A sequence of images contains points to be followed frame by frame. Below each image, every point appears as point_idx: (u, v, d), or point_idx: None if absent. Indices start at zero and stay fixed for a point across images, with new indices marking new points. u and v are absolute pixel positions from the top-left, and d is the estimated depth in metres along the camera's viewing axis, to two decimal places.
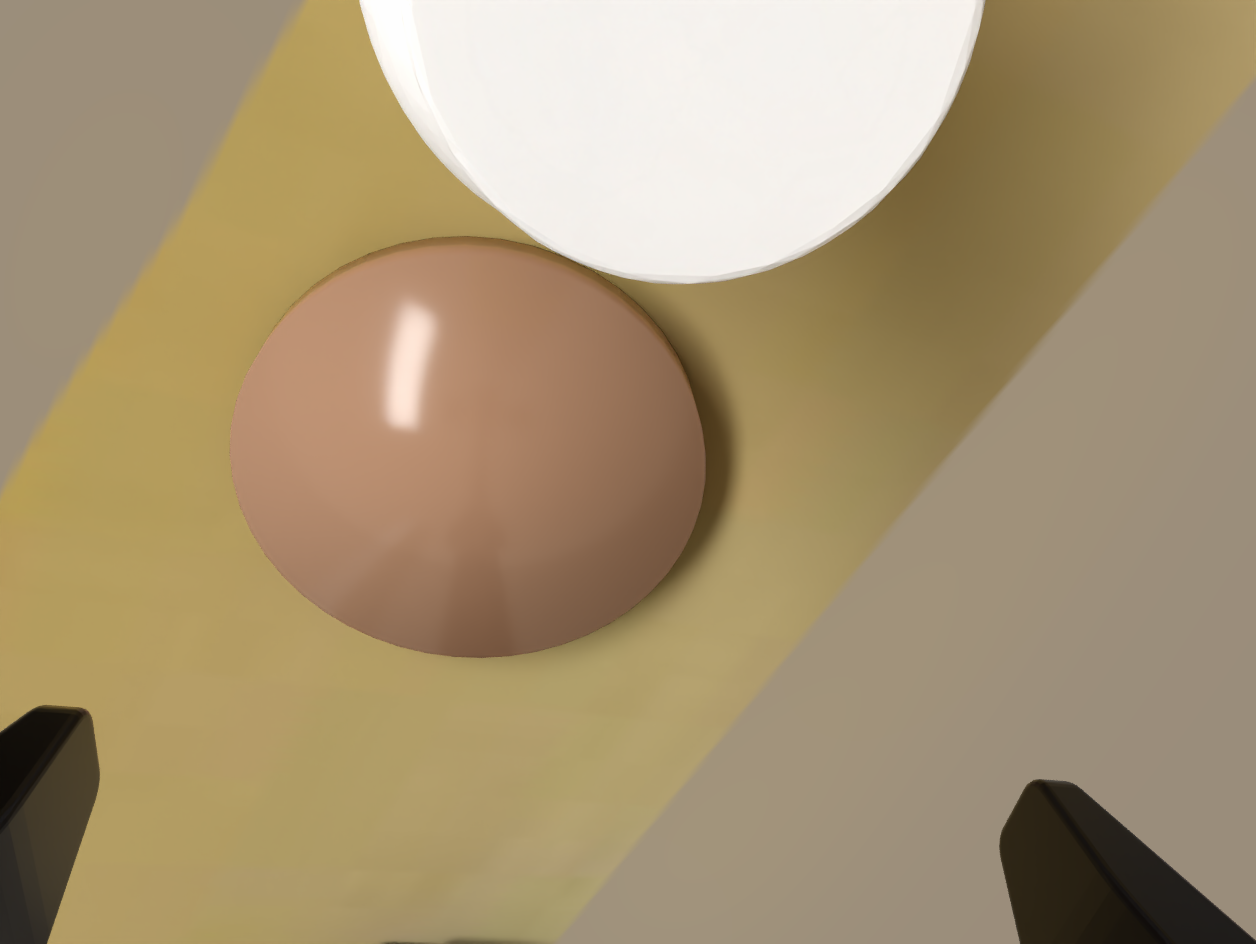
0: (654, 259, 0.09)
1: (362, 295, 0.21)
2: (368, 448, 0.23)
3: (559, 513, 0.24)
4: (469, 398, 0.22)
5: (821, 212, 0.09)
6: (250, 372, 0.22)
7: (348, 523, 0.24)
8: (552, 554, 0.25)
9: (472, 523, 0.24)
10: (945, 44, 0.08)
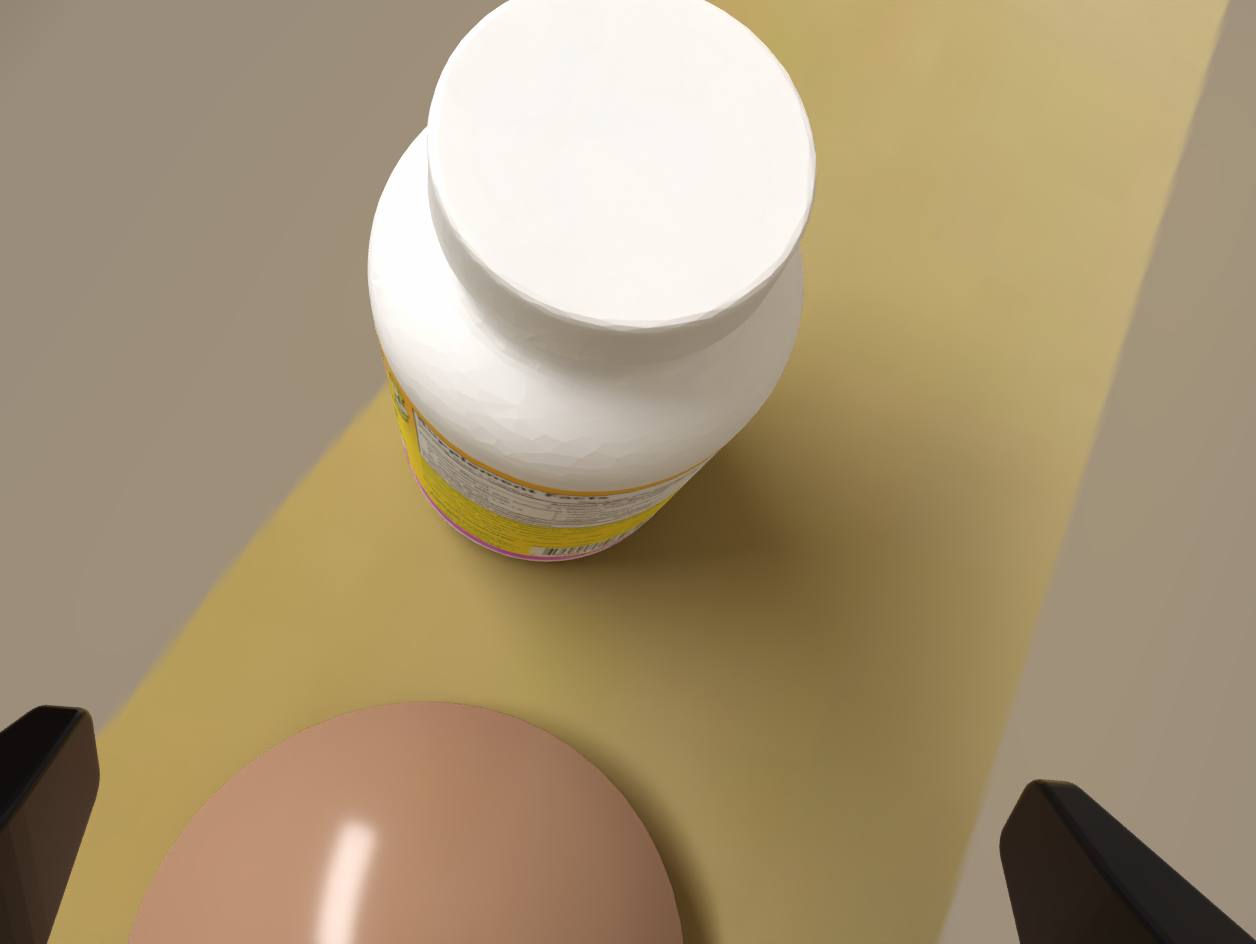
0: (618, 307, 0.11)
1: (306, 753, 0.20)
2: None
3: None
4: (413, 870, 0.20)
5: (739, 272, 0.12)
6: (167, 858, 0.20)
7: None
8: None
9: None
10: (795, 163, 0.12)
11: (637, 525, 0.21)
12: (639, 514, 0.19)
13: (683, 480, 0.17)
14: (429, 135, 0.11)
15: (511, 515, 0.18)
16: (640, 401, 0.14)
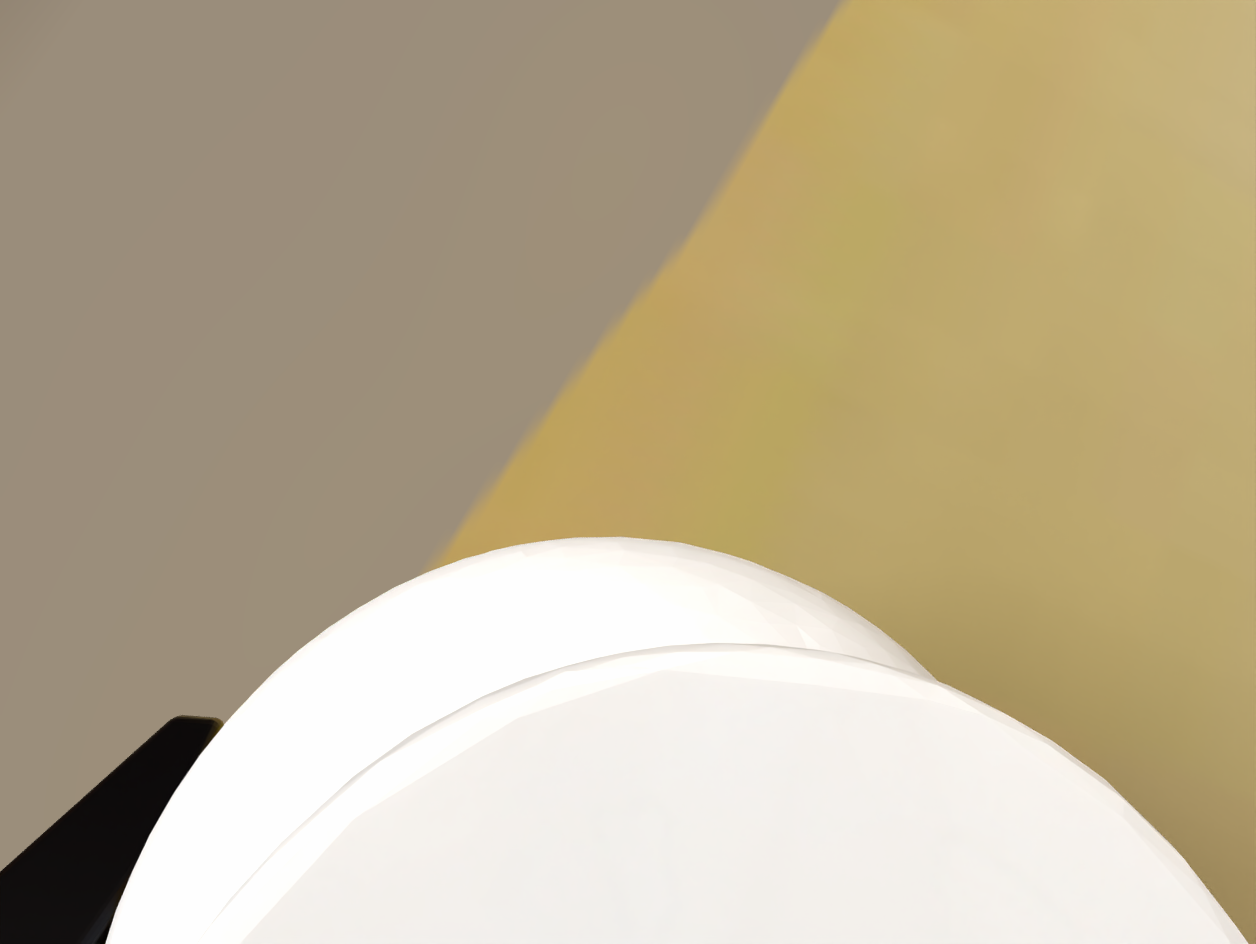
0: None
1: None
2: None
3: None
4: None
5: None
6: None
7: None
8: None
9: None
10: None
11: None
12: None
13: None
14: None
15: None
16: None
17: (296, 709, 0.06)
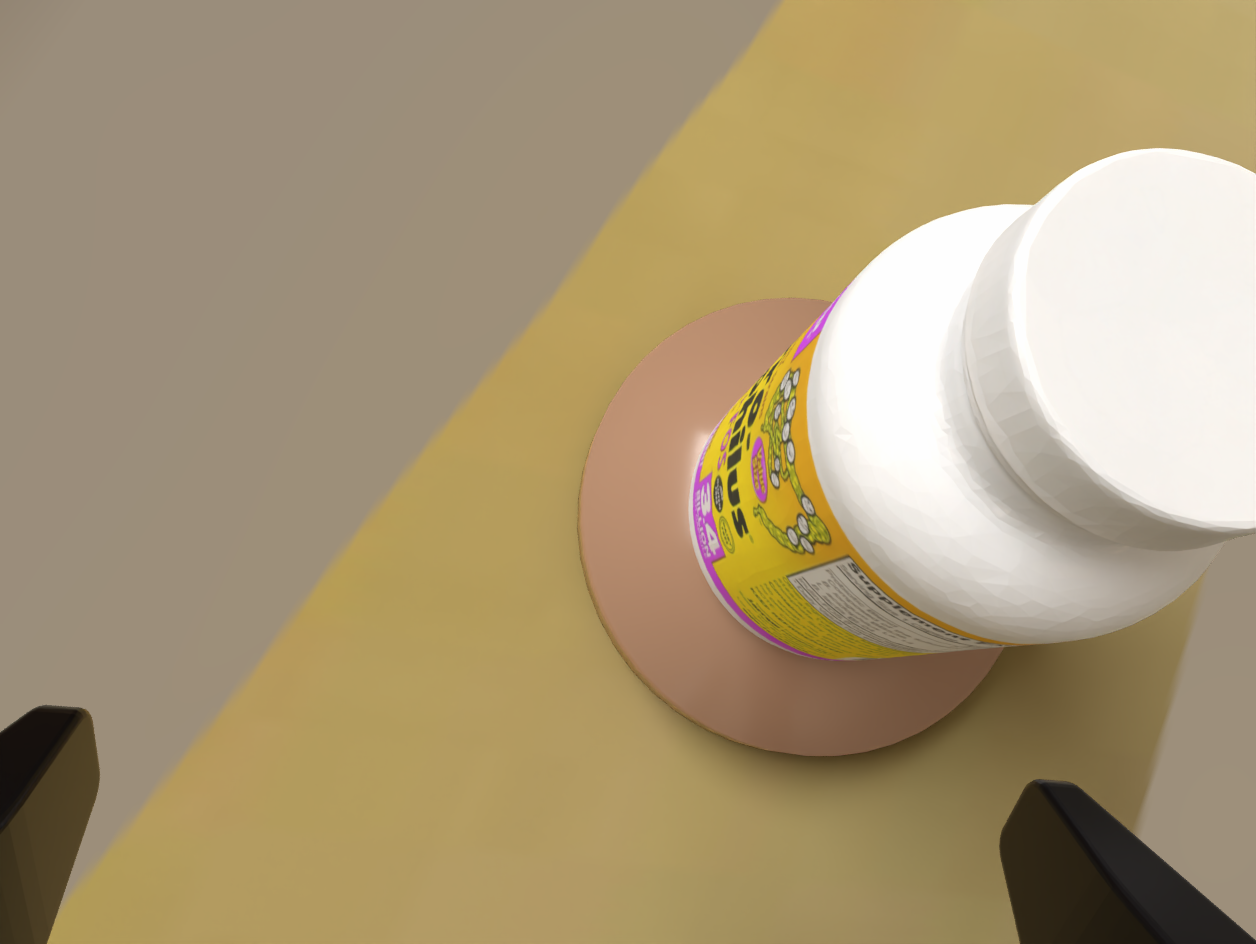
0: (1218, 508, 0.11)
1: (713, 331, 0.24)
2: None
3: None
4: None
5: None
6: (612, 404, 0.24)
7: (693, 569, 0.23)
8: None
9: None
10: None
11: None
12: None
13: None
14: (1016, 326, 0.11)
15: (885, 643, 0.17)
16: (1130, 567, 0.13)
17: (915, 253, 0.14)
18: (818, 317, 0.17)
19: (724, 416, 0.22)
